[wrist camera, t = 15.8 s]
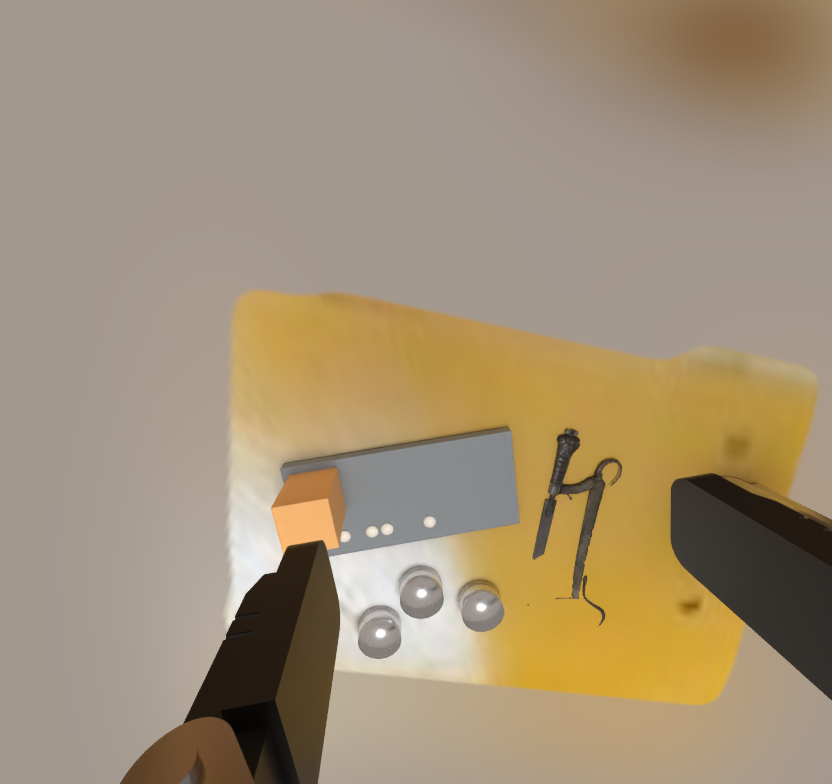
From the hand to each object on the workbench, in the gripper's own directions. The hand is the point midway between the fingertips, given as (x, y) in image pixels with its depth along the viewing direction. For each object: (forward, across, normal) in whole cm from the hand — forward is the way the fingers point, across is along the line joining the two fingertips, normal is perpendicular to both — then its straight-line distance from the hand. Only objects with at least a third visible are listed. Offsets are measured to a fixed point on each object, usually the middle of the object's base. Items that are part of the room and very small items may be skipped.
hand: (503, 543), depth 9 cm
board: (+28, +3, +13) cm, 31 cm away
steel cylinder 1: (+28, +8, +28) cm, 40 cm away
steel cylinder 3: (+28, -3, +27) cm, 39 cm away
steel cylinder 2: (+28, +3, +24) cm, 37 cm away
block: (+27, +11, +11) cm, 31 cm away
